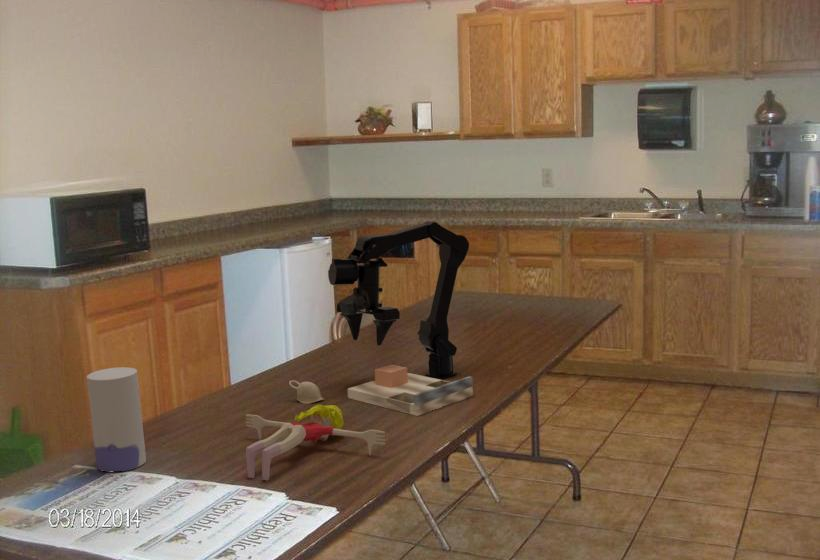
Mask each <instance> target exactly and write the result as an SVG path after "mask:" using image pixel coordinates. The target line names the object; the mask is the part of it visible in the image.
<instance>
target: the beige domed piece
mask: <svg viewBox="0 0 820 560" xmlns="http://www.w3.org/2000/svg"><path fill="white" fill-rule="evenodd" d="M292 383H294V384H297V385H298V386H294V385H293V384H292ZM288 385H289V386H290V388H292V389H294V390H295V391H296V395H297V398H296V400H297V401H298V402H299V403H301V404H307V405H308V404H312V403H316V402H319V401H324V400H325V399H324V398H323V397H322V395H321V390H320V388H319V387H318V386H317V384H315V383H313V382H311V381H302V382H299V381H297V380H295V379H294V380H293V379H292V380H289V382H288Z"/></svg>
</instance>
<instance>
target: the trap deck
mask: <svg viewBox="0 0 820 560" xmlns="http://www.w3.org/2000/svg"><path fill="white" fill-rule="evenodd" d="M473 389H474V387H473V376H466V377H463V378H460V379H457V380H454V381H449V380H443V379H440V378H435V377H430V376H426V375H420V374H416V373H410V372H408V383H406V384H403V385H399V386H396V387H393V388H389V387H385V386H380V385H376V384H375V379H374V380H371V381H369V382H368V381H367V382H365V383H362V384H358V385H354V386H351V387H349V388H347V399H351V400H354V401H358V402H362V403H365V404H369V405H374V406H378V407H382V408H385V409H389V410H393V411H397V412H400V413H406V414H409V415H412V416H417V417H419V416H421V415H424V414H428V413H429V412H433V411H436V410H438V409H441V408H444V407H446V406H449V405H452V404H454V403H457V402H460V401H464V400H466V399H468V398H472V397H473V395H474V392H473ZM443 406H444V407H443ZM435 409H436V410H435ZM432 410H433V411H432Z"/></svg>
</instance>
